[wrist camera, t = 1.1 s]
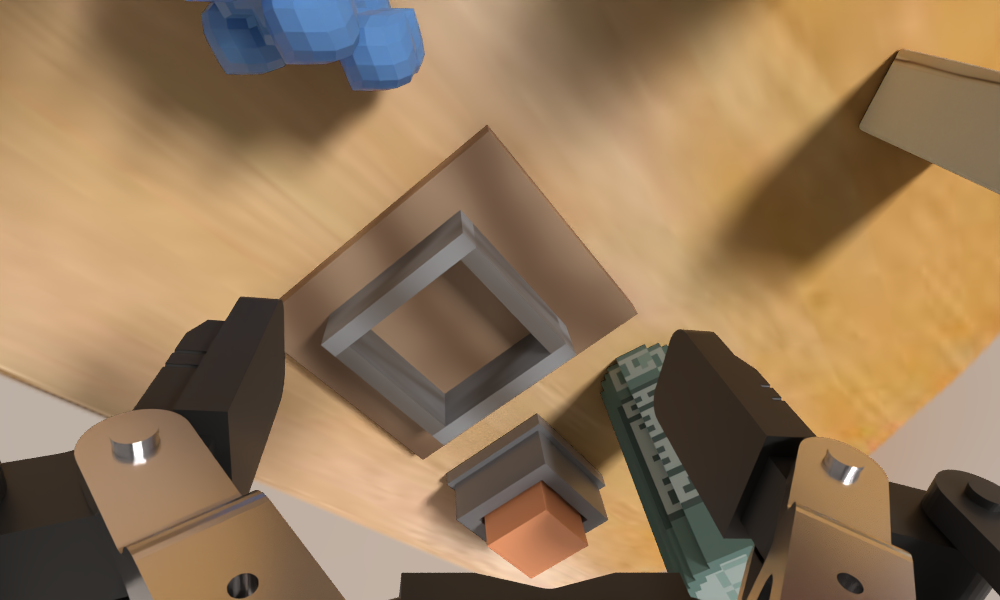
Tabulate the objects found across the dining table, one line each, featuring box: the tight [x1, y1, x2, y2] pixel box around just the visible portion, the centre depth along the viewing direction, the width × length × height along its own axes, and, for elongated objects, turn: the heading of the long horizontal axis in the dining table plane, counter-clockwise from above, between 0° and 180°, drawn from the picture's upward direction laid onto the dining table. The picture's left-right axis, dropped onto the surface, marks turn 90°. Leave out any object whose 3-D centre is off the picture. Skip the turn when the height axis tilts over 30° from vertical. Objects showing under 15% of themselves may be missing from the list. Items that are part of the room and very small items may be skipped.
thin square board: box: [280, 125, 638, 459], centre depth 34 cm, size 17×14×4 cm
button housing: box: [447, 414, 608, 542], centre depth 41 cm, size 8×8×4 cm
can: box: [600, 343, 754, 600], centre depth 33 cm, size 6×6×15 cm
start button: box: [484, 480, 588, 578], centre depth 39 cm, size 5×5×3 cm
